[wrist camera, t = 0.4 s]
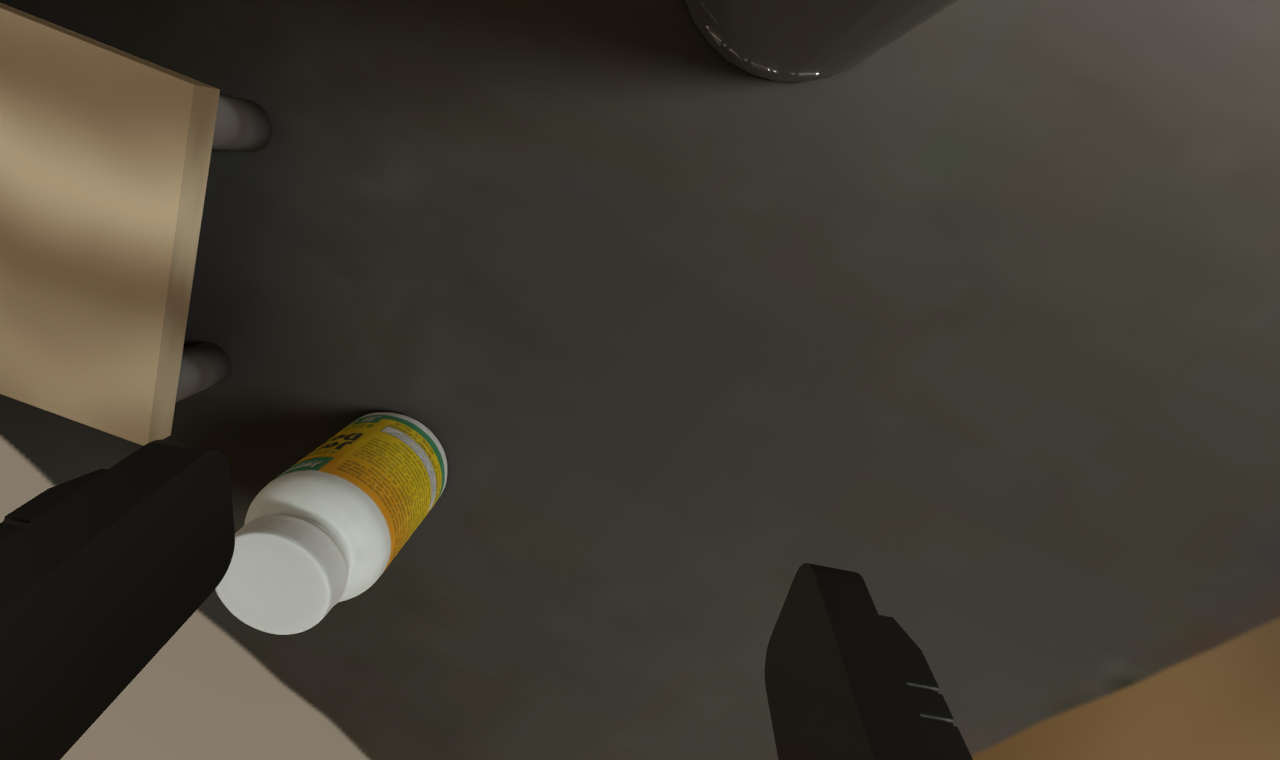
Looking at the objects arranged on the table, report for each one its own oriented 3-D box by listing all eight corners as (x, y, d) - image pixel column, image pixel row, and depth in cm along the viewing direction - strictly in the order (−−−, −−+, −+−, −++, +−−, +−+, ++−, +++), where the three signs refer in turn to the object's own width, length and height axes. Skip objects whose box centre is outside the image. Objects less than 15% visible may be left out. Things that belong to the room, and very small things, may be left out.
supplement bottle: (399, 531, 31) (280, 679, 22) (318, 453, 30) (156, 576, 21) (475, 468, 30) (381, 598, 21) (392, 385, 29) (254, 484, 20)
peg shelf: (-52, -33, 25) (-236, -86, 20) (289, 102, 25) (194, 84, 20) (-56, 294, 29) (-207, 319, 24) (235, 402, 30) (147, 446, 25)
